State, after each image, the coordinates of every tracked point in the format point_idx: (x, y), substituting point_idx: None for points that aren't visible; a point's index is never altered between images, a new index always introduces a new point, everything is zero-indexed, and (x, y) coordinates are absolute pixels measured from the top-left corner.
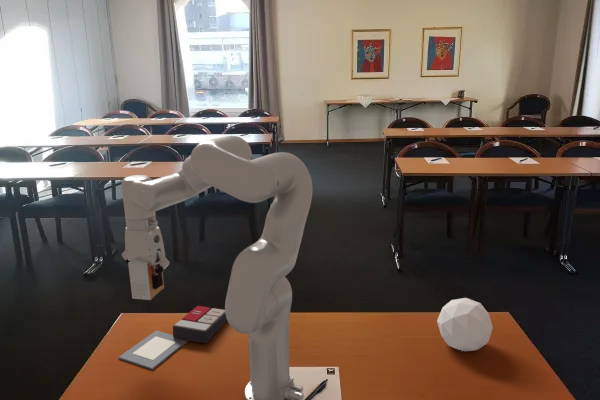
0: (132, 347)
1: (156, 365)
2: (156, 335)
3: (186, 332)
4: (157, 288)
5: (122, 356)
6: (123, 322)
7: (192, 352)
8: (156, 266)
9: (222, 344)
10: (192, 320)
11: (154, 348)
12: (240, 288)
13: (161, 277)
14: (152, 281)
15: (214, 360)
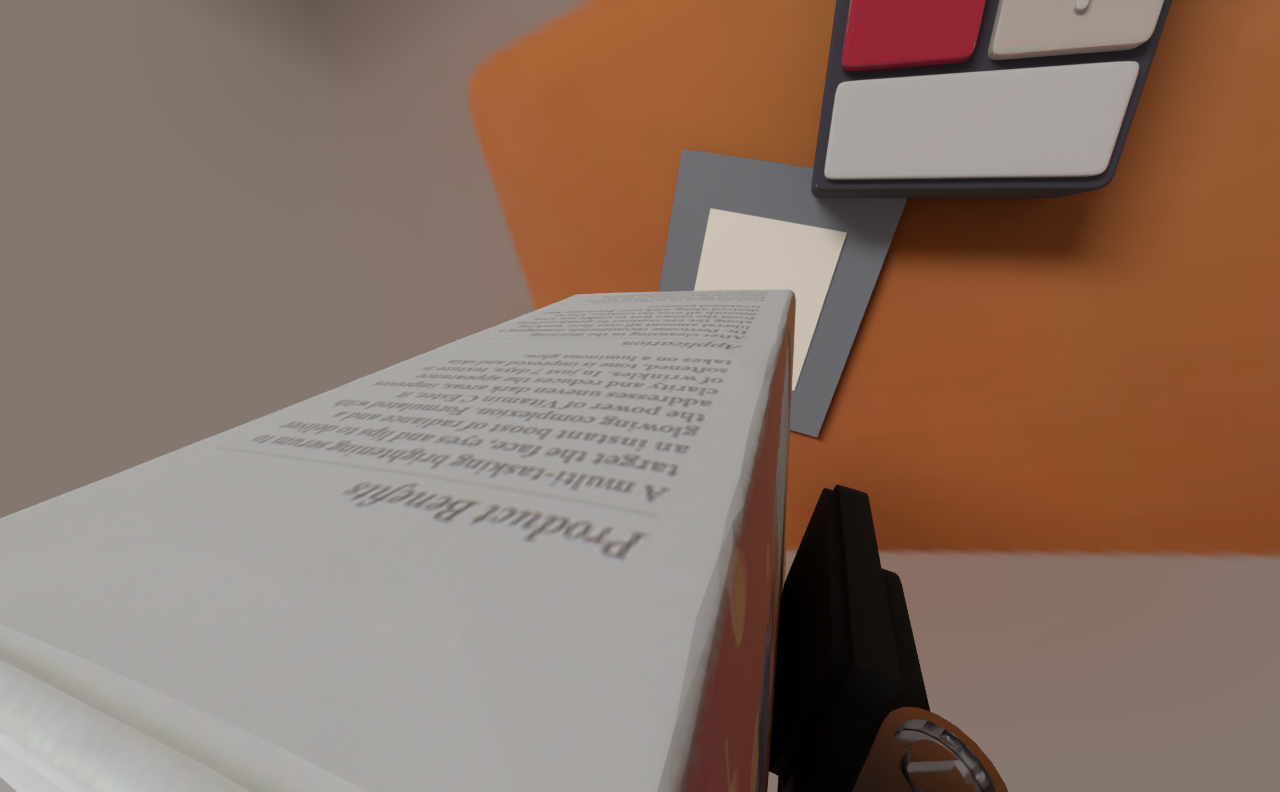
0: None
1: (825, 415)
2: (709, 197)
3: (920, 192)
4: (787, 474)
5: None
6: (485, 119)
7: (973, 279)
8: (763, 782)
9: (1191, 145)
10: (941, 61)
11: None
12: None
13: (911, 670)
14: (776, 677)
15: (1147, 323)
